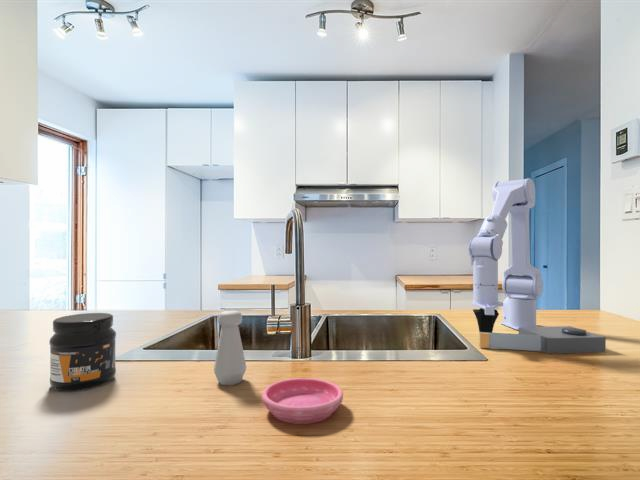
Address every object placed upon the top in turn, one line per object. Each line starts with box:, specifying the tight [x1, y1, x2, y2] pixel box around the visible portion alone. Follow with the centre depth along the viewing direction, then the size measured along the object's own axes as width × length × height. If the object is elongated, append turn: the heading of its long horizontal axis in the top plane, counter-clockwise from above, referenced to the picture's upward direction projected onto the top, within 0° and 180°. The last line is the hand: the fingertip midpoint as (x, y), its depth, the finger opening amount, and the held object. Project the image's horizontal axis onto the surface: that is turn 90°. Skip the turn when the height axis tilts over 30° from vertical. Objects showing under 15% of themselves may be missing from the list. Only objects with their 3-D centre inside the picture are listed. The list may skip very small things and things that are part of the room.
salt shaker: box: [213, 309, 247, 386], centre depth 72 cm, size 6×6×13 cm
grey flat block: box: [518, 325, 607, 355], centre depth 95 cm, size 12×14×4 cm
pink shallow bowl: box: [261, 377, 344, 425], centre depth 60 cm, size 12×12×3 cm
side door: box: [478, 332, 542, 352], centre depth 92 cm, size 13×1×4 cm, turn 75°
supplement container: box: [49, 312, 117, 392], centre depth 72 cm, size 10×10×12 cm
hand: (485, 338), depth 97 cm, fingers closed
